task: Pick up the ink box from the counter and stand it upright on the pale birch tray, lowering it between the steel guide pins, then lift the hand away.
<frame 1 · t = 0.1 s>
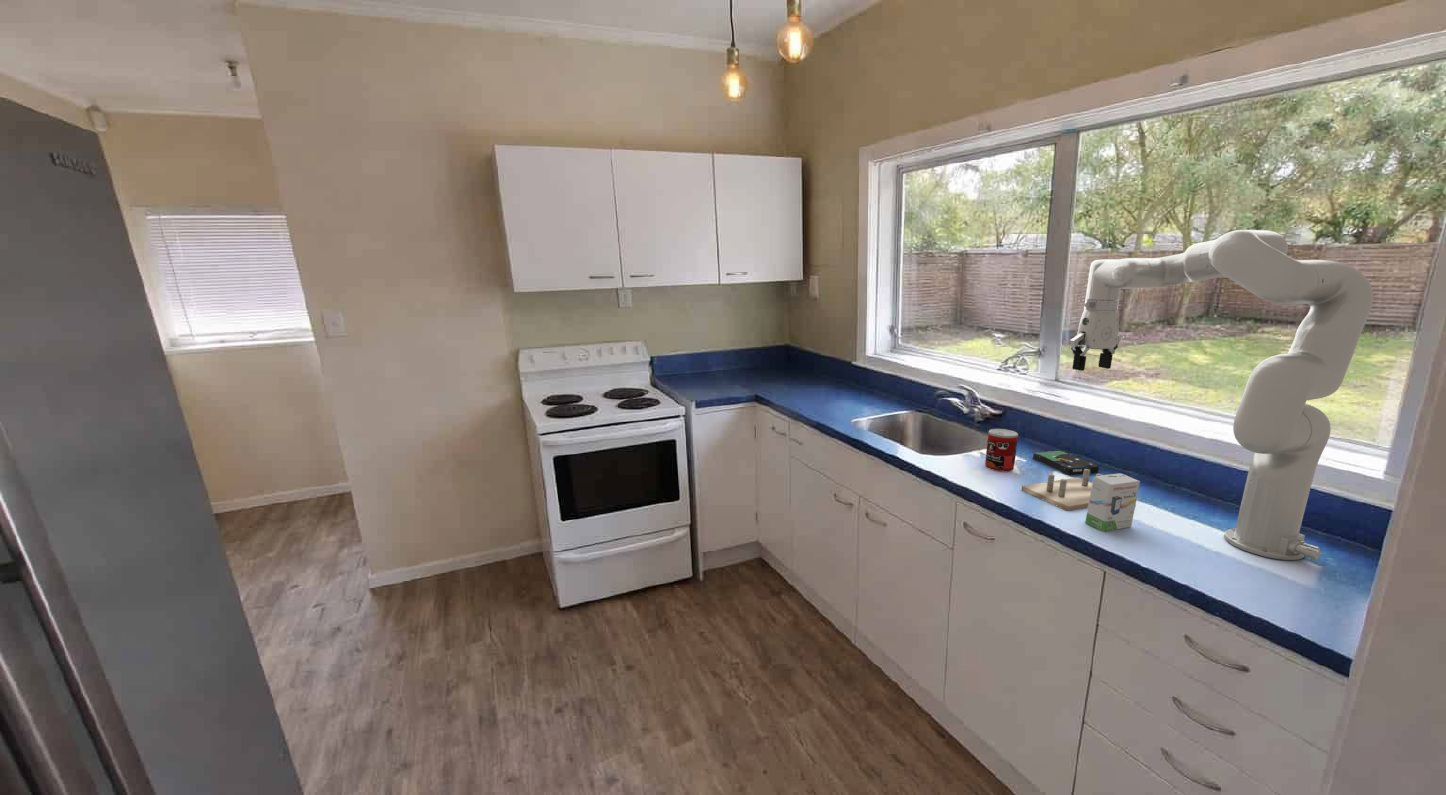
hand: (1091, 368, 155), 31 cm above the worktop, tool pointing down, fingers open, 9 cm apart
disk drive: (1064, 467, 170), on the worktop
canned food: (999, 467, 169), on the worktop
ink box: (1107, 526, 131), on the worktop
pin tray: (1072, 495, 148), on the worktop
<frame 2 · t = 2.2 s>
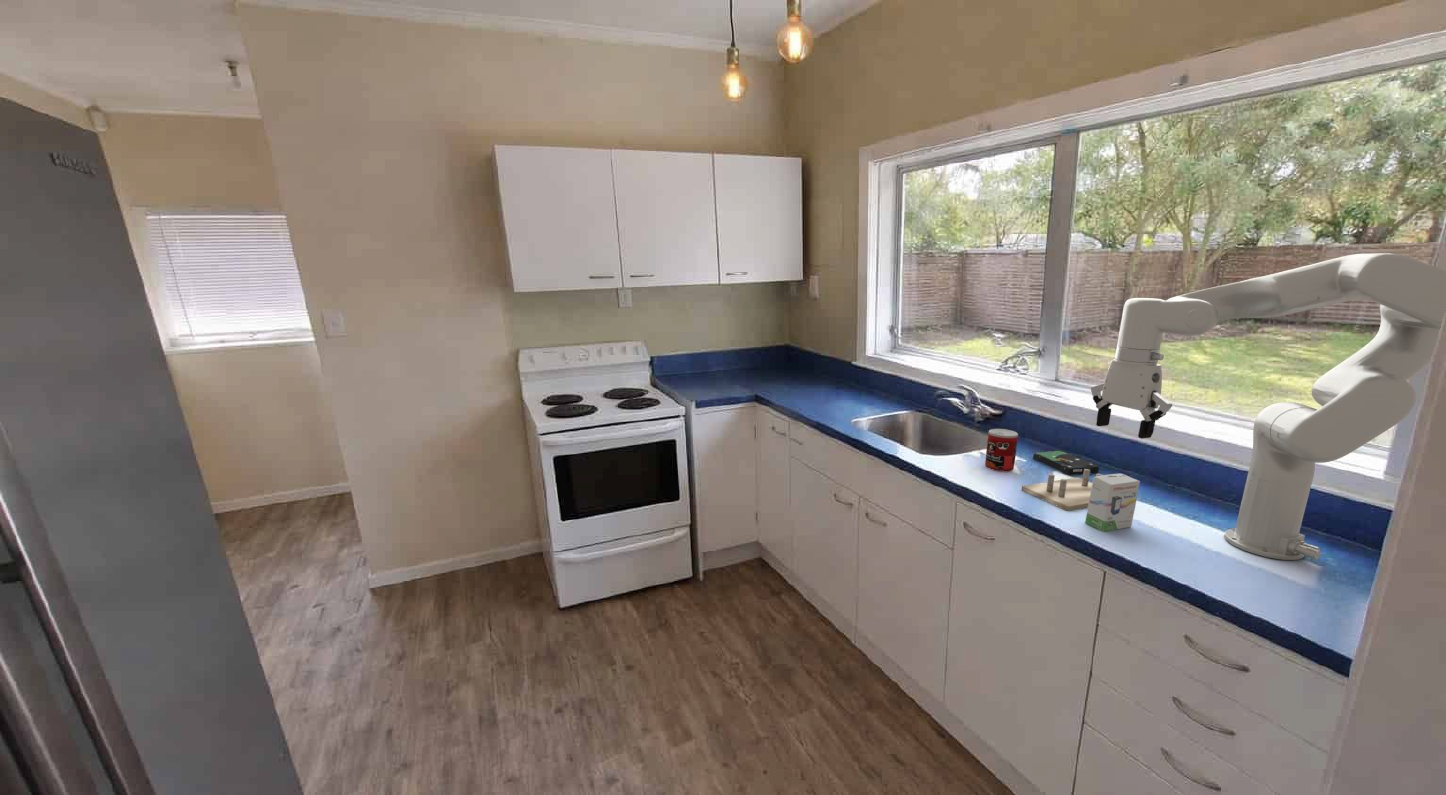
hand: (1122, 431, 125), 23 cm above the worktop, tool pointing down, fingers open, 9 cm apart
nothing on the worktop moved.
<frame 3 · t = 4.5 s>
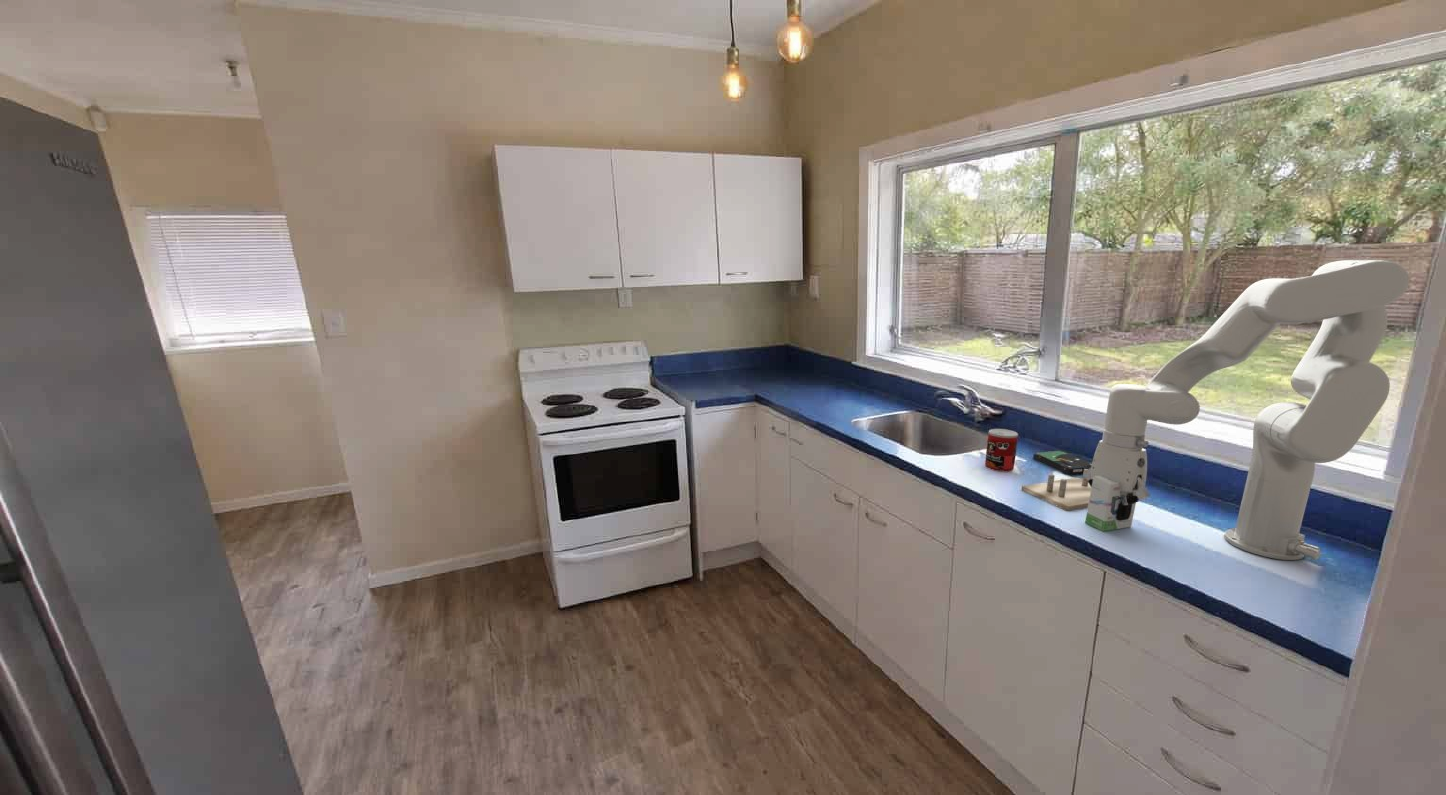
hand: (1109, 513, 130), 3 cm above the worktop, tool pointing down, fingers closed on ink box, 5 cm apart
ink box: (1107, 526, 131), on the worktop, touching gripper
everything else where it was.
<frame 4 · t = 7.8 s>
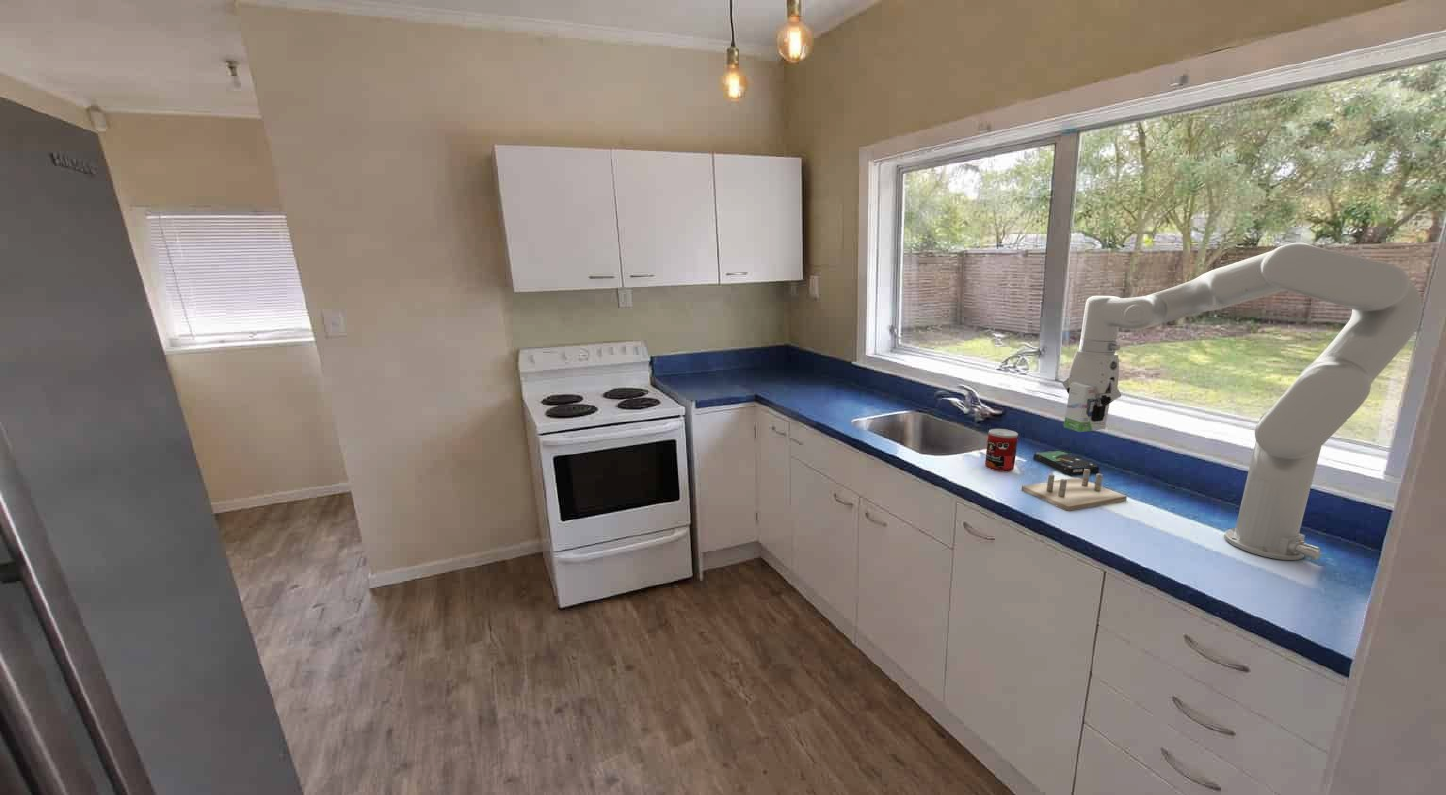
hand: (1086, 417, 142), 22 cm above the worktop, tool pointing down, fingers closed on ink box, 5 cm apart
ink box: (1084, 429, 143), point 18 cm above the worktop, touching gripper
everything else where it was.
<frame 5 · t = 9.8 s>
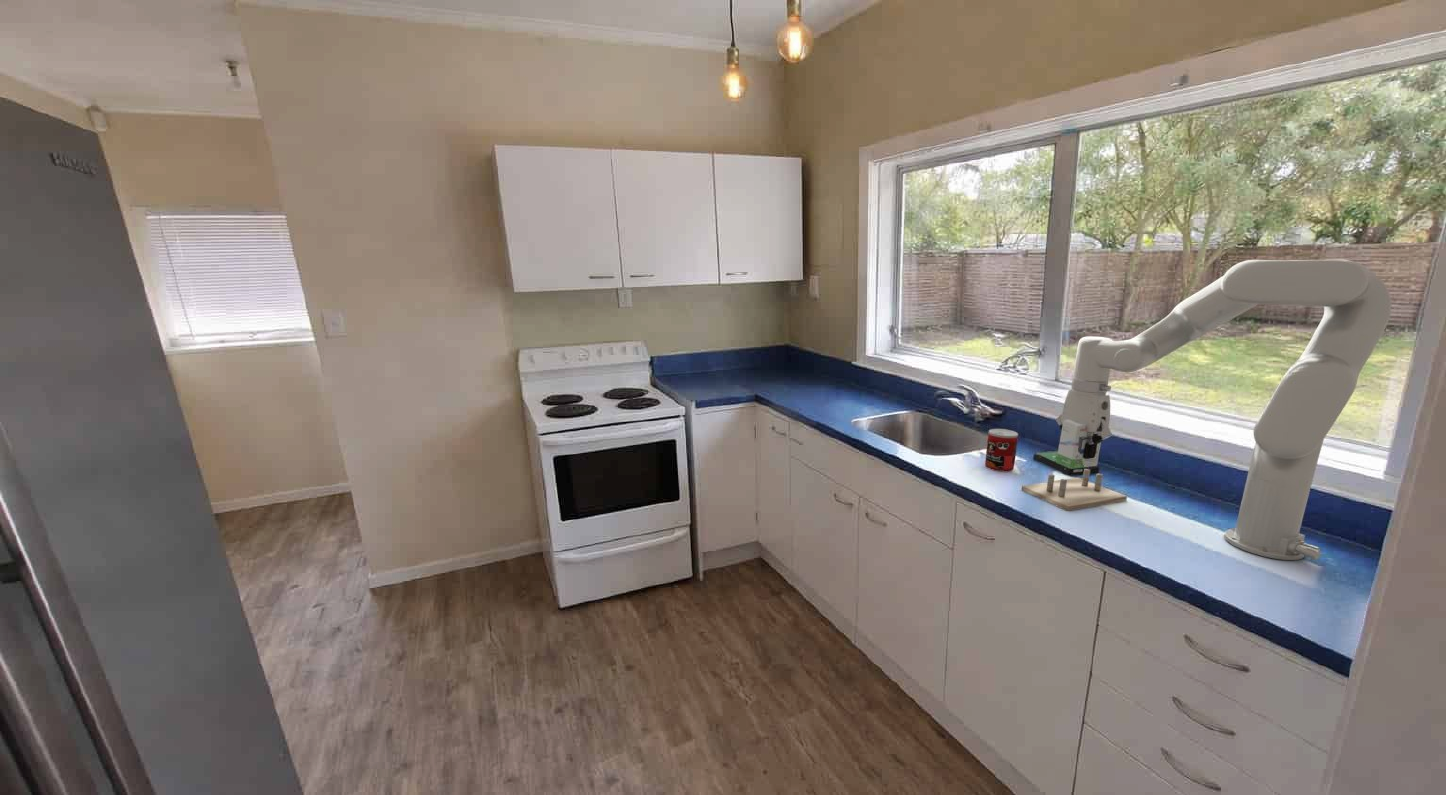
hand: (1078, 453, 145), 11 cm above the worktop, tool pointing down, fingers closed on ink box, 5 cm apart
ink box: (1076, 465, 146), point 8 cm above the worktop, touching gripper
everything else where it was.
when the fingers open (6 cm above the worktop, at t = 11.4 s): ink box drops 1 cm, resting on pin tray.
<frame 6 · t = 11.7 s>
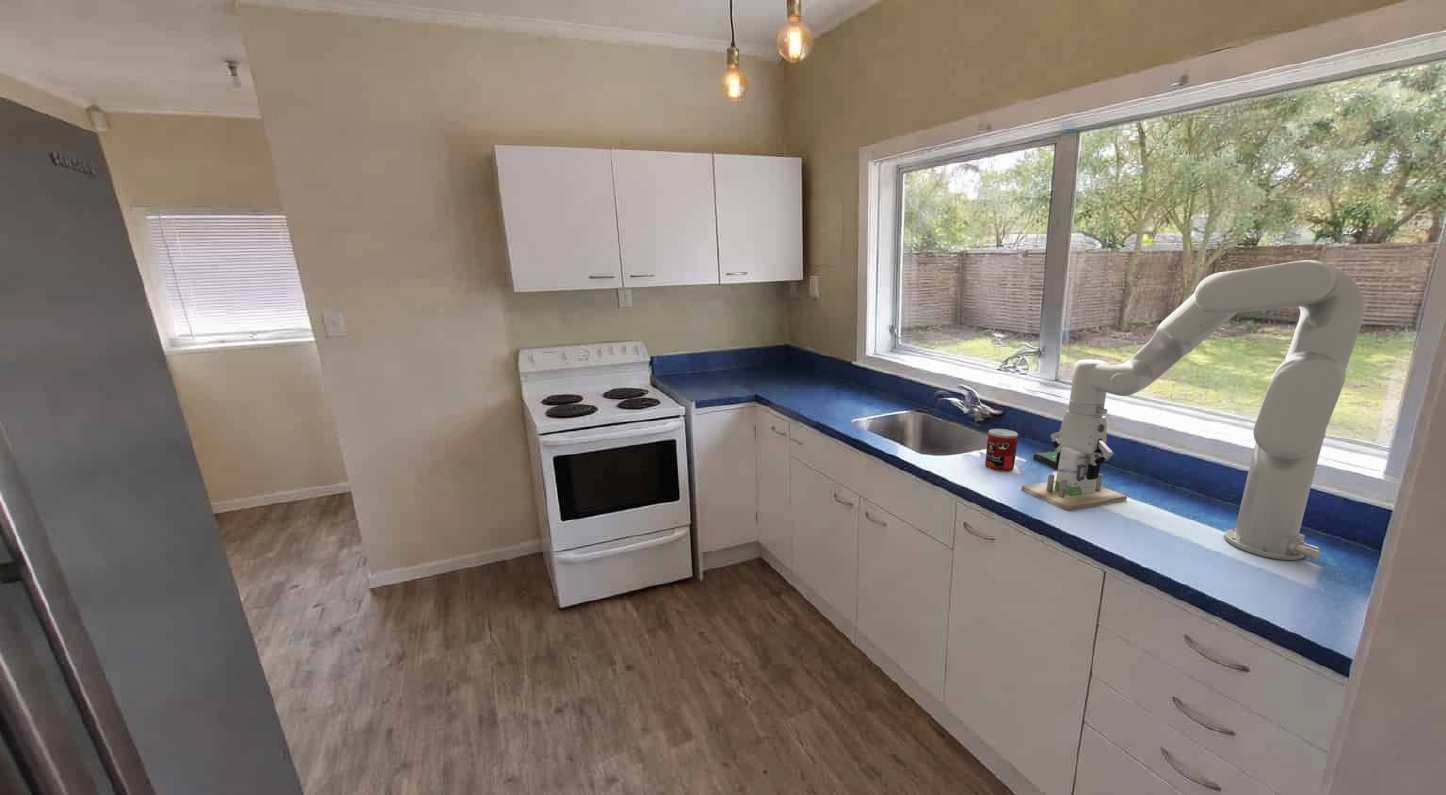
hand: (1076, 472, 146), 6 cm above the worktop, tool pointing down, fingers open, 8 cm apart
ink box: (1074, 492, 147), point 1 cm above the worktop, touching pin tray
everything else where it was.
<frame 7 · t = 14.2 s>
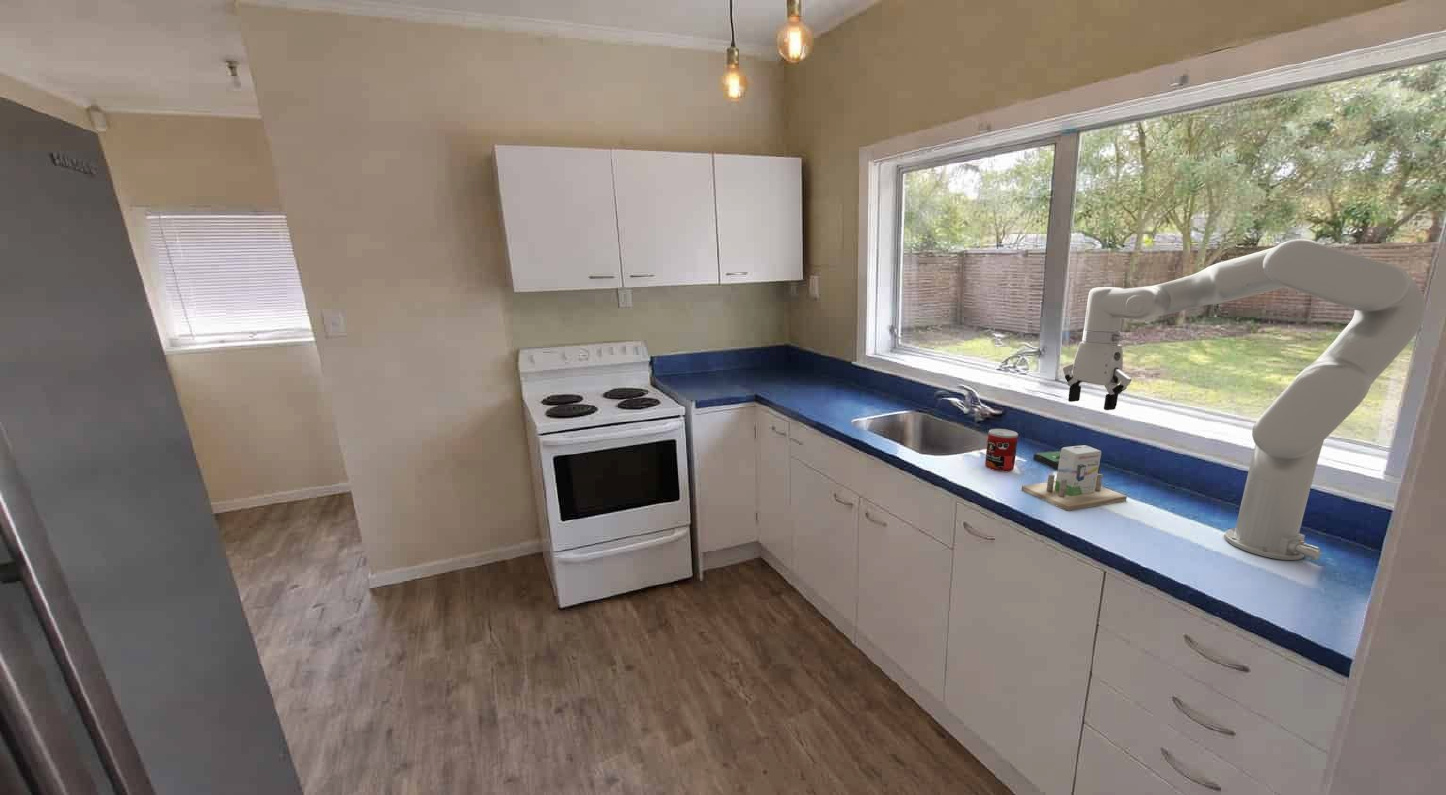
hand: (1091, 405, 142), 24 cm above the worktop, tool pointing down, fingers open, 9 cm apart
nothing on the worktop moved.
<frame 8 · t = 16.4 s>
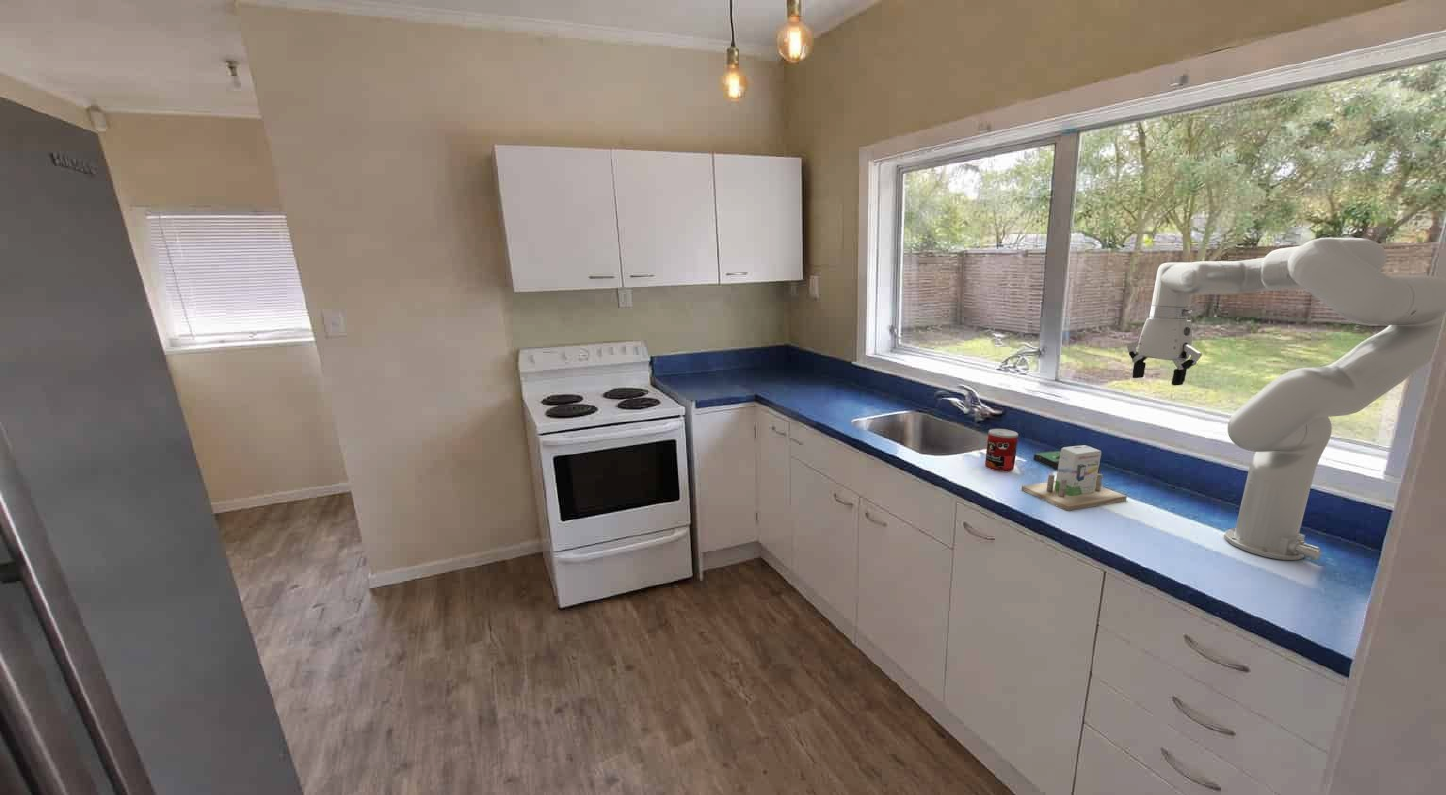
hand: (1156, 381, 143), 30 cm above the worktop, tool pointing down, fingers open, 9 cm apart
nothing on the worktop moved.
at the end: ink box 0.3 cm off-centre on the pin tray, point 1.0 cm above the pin tray's base; ink box tilted 0°; ink box touching pin tray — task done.
